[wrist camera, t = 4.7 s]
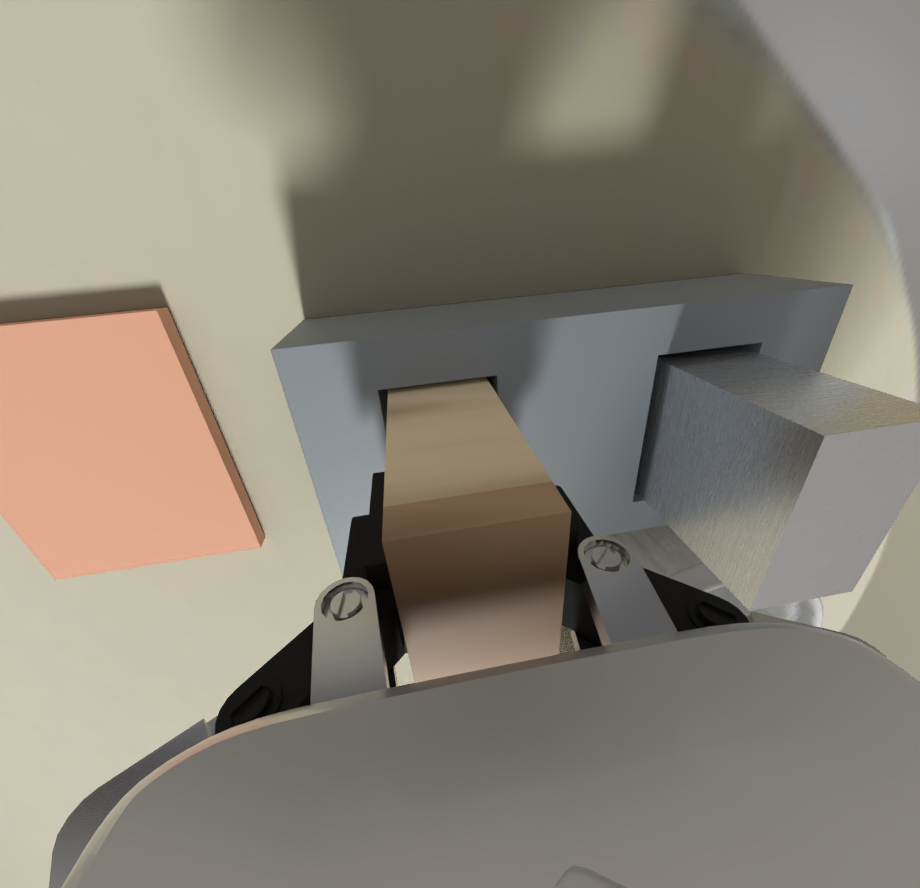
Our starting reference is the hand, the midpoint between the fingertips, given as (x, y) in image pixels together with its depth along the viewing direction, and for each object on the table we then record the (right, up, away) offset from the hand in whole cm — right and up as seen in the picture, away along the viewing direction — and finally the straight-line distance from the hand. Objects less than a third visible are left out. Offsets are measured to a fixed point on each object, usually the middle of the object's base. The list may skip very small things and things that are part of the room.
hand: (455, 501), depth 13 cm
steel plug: (+9, +5, +7) cm, 12 cm away
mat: (-16, +1, +5) cm, 17 cm away
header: (+4, +4, +7) cm, 9 cm away
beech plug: (-1, +3, +5) cm, 6 cm away
